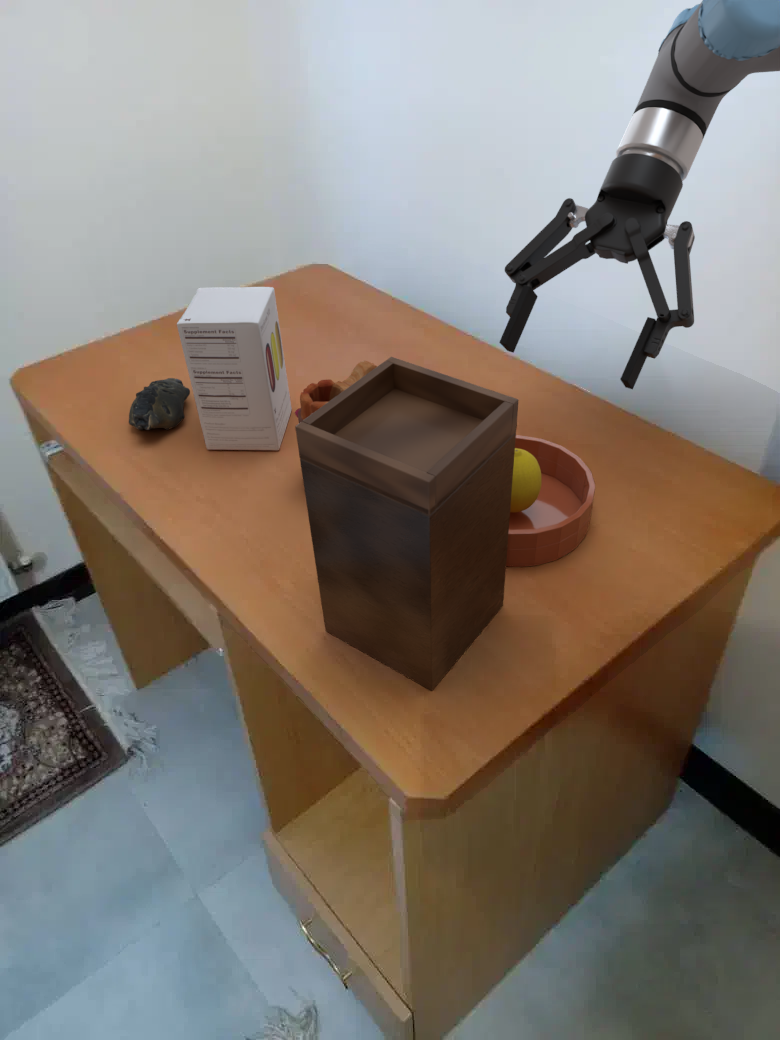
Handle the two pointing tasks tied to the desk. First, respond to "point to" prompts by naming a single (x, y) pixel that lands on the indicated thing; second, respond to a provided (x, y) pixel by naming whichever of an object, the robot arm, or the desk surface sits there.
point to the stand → (411, 566)
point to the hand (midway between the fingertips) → (563, 365)
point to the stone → (159, 405)
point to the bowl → (551, 507)
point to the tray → (408, 432)
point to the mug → (328, 390)
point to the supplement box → (237, 367)
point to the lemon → (524, 481)
